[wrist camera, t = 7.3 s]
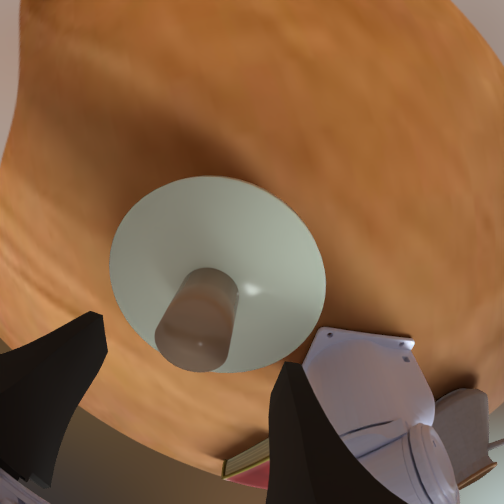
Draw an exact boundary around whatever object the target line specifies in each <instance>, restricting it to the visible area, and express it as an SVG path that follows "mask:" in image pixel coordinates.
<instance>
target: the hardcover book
mask: <svg viewBox="0 0 504 504" xmlns="http://www.w3.org/2000/svg"><path fill="white" fill-rule="evenodd" d="M269 467H270V459H269V438H267V439H265V440H264V441H262V442H260V443H258V444H257V445H255V446H253V447H251V448H250V449H248V450H246V451H244V452H242V453H240V454H239V455H237V456H235V457H233V458H231V459H229V460H226V459H225V460H224V462H223V467H222V476H221V477H222V479H224V480H227V481H232V482H235V483H239V484H244V485H248V486H252V487H257V488H262V489H267V490H268V481H269Z"/></svg>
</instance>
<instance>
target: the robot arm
mask: <svg viewBox="0 0 504 504" xmlns="http://www.w3.org/2000/svg"><path fill="white" fill-rule="evenodd" d="M328 333H332V334H330V335H327V334H328ZM401 342H402V343H401ZM414 344H415V342H414V340H413V339H412V338H403V337H394V336H386V335H378V334H370V333H363V332H356V331H349V330H342V329H336V328H330V327H321V328H320V329H318V331H317V333H316V335H315V338H314V340H313V342H312V344H311V347H310V349H309V351H308V353H307V355H306V358H305V360H304V362H303V364H302V365H301V364H299V363H292V362H286V361H285V362H284V364H283V367H282V369H281V372H280V374H279V376H278V379H277V381H276V383H275V385H274V388H273V390H272V392H271V397H270V406H269V459H270V467H269V481H268V490H267V498H266V504H460V494H459V489H458V486H457V484H456V481H455V475H454V471H453V468H452V465H451V462H450V459H449V456H448V454H447V451H446V449H445V447H444V445H443V443H442V441H441V439H440V437H439V435H438V434H437V432H436V431H435V430H434V428H433V427H432V424H433V421H434V415H435V402H434V397H433V394H432V392H431V390H430V387H429V385H428V383H427V381H426V379H425V377H424V375H423V373H422V371H421V369H420V367H419V365H418V363H417V361H416V359H415V357H414V356H413V354H412V352H411V349H412V348H413V346H414ZM107 352H108V349H107V343H106V337H105V330H104V322H103V315H100V314H98V313H95V312H92V311H89V312H87V313H85V314H83V315H81V316H80V317H78V318H76V319H74V320H72V321H71V322H69V323H67V324H65V325H63V326H62V327H60V328H58V329H56V330H54V331H53V332H51V333H49V334H47V335H45V336H43V337H41V338H39V339H37V340H35V341H33V342H31V343H29V344H27V345H24V346H22V347H20V348H17V349H14V350H12V351H9V352H6V353H3V354H0V504H50V503H48V502H47V501H45V500H44V499H42V498H40V497H39V496H37V495H36V494H34V493H33V492H31V491H30V490H29V489H27V488H26V487H25V486H23V485H22V484H20V483H19V482H18V479H19V477H20V478H21V479H23V480H24V481H26V482H27V481H28V480H29V479H30V480H32V481H33V482H34V483H36V484H37V485H39V486H41V487H42V488H49V487H51V480H52V475H53V470H54V466H55V462H56V458H57V455H58V451H59V448H60V445H61V442H62V439H63V436H64V433H65V431H66V428H67V426H68V424H69V421H70V419H71V417H72V415H73V413H74V411H75V409H76V407H77V406H78V404H79V402H80V401H81V399H82V398H83V396H84V394H85V393H86V391H87V390H88V388H89V386H90V385H91V383H92V381H93V380H94V378H95V377H96V375H97V373H98V372H99V370H100V368H101V366H102V364H103V361H104V359H105V357H106V355H107Z"/></svg>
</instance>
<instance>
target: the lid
mask: <svg viewBox="0 0 504 504" xmlns="http://www.w3.org/2000/svg"><path fill="white" fill-rule="evenodd" d="M109 268H110V279H111V284H112V289H113V292H114V295H115V298H116V301H117V303H118V305H119V307H120V309H121V311H122V313H123V315H124V316H125V318H126V320H127V321H128V322H129V324H130V325H131V326H132V328H133V329H134V330H135V331H136V332H137V333H138V334H139V335H140V337H141V338H142V339H143V340H145V341H146V342H147V343H148V344H149V345H150V346H152V347H153V348H154V349H156V350H157V351H159V352H160V353H161V354H162V355H163V357H165V358H166V359H167V360H168V361H169V362H170V363H172V364H173V365H175V366H177V367H179V368H181V369H184V370H187V371H192V372H209V371H211V372H219V373H235V372H245V371H251V370H255V369H259V368H262V367H265V366H268V365H270V364H273V363H275V362H277V361H279V360H281V359H282V358H284V357H286V356H287V355H289V354H290V353H291V352H293V351H294V350H295V349H297V348H298V347H299V346H300V345H301V344H302V343H303V342H304V341H305V340H306V338H307V337H308V336H309V334H310V333H311V332H312V330H313V329H314V327H315V325H316V323H317V322H318V319H319V317H320V314H321V312H322V309H323V304H324V300H325V291H326V279H325V269H324V265H323V261H322V258H321V254H320V252H319V250H318V247H317V245H316V243H315V240H314V238H313V236H312V234H311V232H310V231H309V229H308V228H307V226H306V224H305V223H304V222H303V220H302V219H301V218H300V217H299V216H298V215H297V213H296V212H295V211H294V210H293V209H292V208H291V207H289V206H288V205H287V204H286V203H285V202H284V201H283V200H281V199H280V198H278V197H277V196H275V195H274V194H272V193H271V192H269V191H268V190H266V189H263V188H261V187H259V186H257V185H255V184H253V183H250V182H247V181H244V180H241V179H237V178H232V177H226V176H214V175H203V176H194V177H188V178H184V179H180V180H176V181H174V182H171V183H169V184H167V185H164V186H162V187H160V188H158V189H156V190H154V191H152V192H151V193H149V194H148V195H146V196H145V197H143V198H142V199H141V200H140V201H139V202H137V203H136V204H135V205H134V206H133V207H132V208H131V209H130V211H129V212H128V213H127V214H126V215H125V217H124V218H123V220H122V222H121V223H120V225H119V227H118V229H117V231H116V234H115V236H114V239H113V242H112V247H111V251H110V261H109Z"/></svg>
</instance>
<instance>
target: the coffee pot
mask: <svg viewBox="0 0 504 504" xmlns="http://www.w3.org/2000/svg"><path fill="white" fill-rule="evenodd" d="M432 427H433V428H434V430H435V431H436V432H437V434H438V435H439V437H440V439H441V441H442V443H443V445H444V447H445V449H446V451H447V454H448V456H449V459H450V462H451V465H452V468H453V471H454V475H455V481H456V484H457V486H458V489H459V490H461V489H462V488H464V487H466V486H468V485H470V484H472V483H474V482H475V481H477V480H479V479H480V478H482V477H483V476H484V475H486V474H487V473H488V472H490V471H491V470H492V469H493V468H494V467H496V465H497V462H493V461H492V460H491V459H490V458H489V456H488V451H489V450H492V449H494V448H497V447H499V446H502V445H504V439H501V440H498V441H495V442H493V443H489V411H488V397H487V394H486V393H484V392H483V391H481V390H479V389H466V388H461V389H458V390H455V391H453V392H450V393H448V394H447V395H445V396H443V397H442V398H440V399H439V400H437V401H436V402H435V415H434V421H433V424H432Z"/></svg>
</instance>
